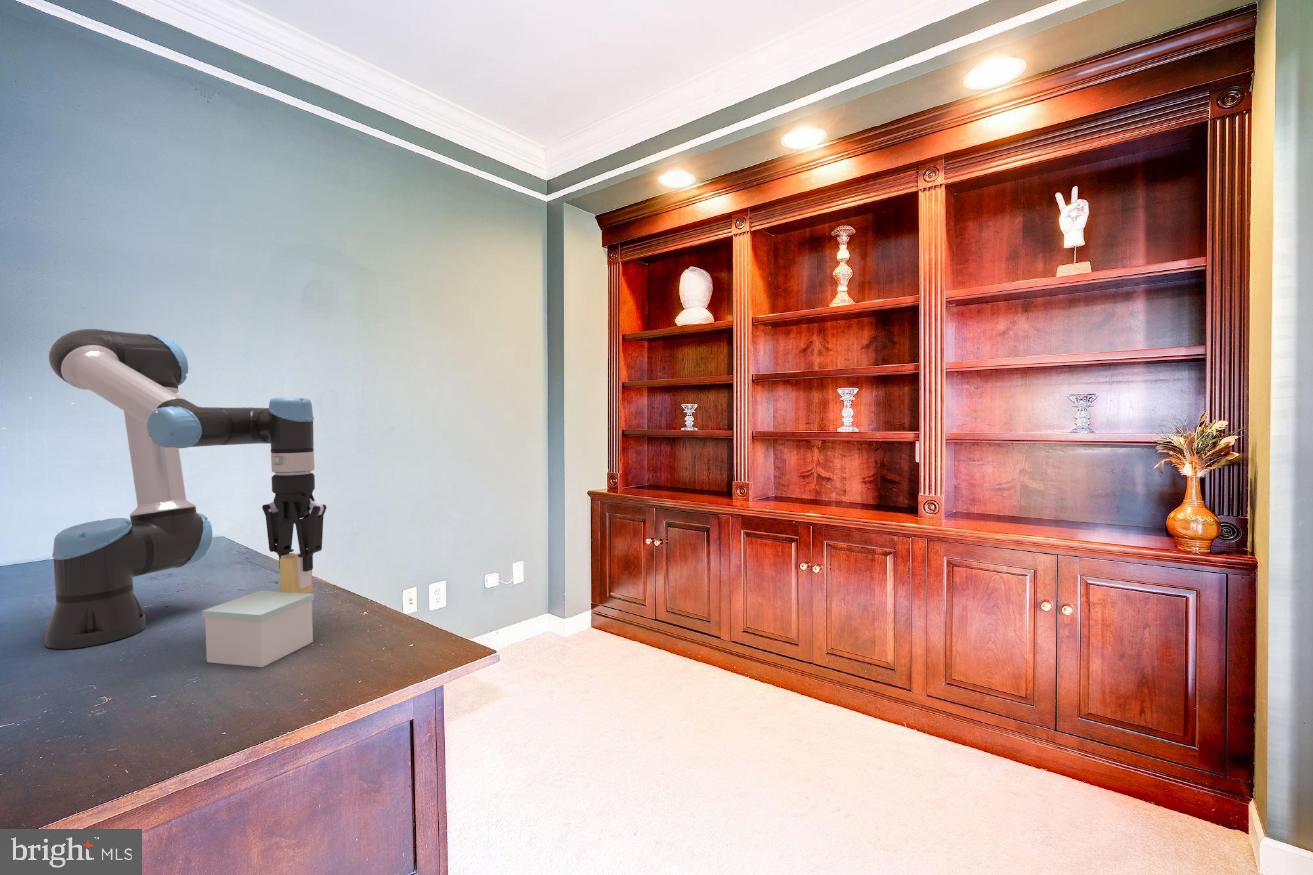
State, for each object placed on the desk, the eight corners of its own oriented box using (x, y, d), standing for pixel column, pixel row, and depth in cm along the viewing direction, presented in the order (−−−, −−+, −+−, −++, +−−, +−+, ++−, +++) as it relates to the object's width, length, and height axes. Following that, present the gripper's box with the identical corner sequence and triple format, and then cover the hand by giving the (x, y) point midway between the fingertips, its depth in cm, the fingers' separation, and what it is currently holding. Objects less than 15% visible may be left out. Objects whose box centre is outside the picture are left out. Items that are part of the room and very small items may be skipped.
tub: (206, 662, 109) (205, 616, 108) (262, 637, 120) (260, 596, 120) (262, 667, 106) (260, 620, 106) (312, 641, 118) (311, 600, 118)
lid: (202, 617, 108) (200, 574, 108) (280, 589, 125) (279, 551, 125) (260, 621, 106) (259, 577, 105) (332, 592, 123) (331, 554, 123)
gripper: (244, 474, 118) (247, 589, 119) (313, 475, 115) (316, 593, 116) (274, 470, 126) (278, 579, 127) (340, 471, 123) (343, 582, 124)
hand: (296, 585), depth 122 cm, fingers closed on lid, 3 cm apart
